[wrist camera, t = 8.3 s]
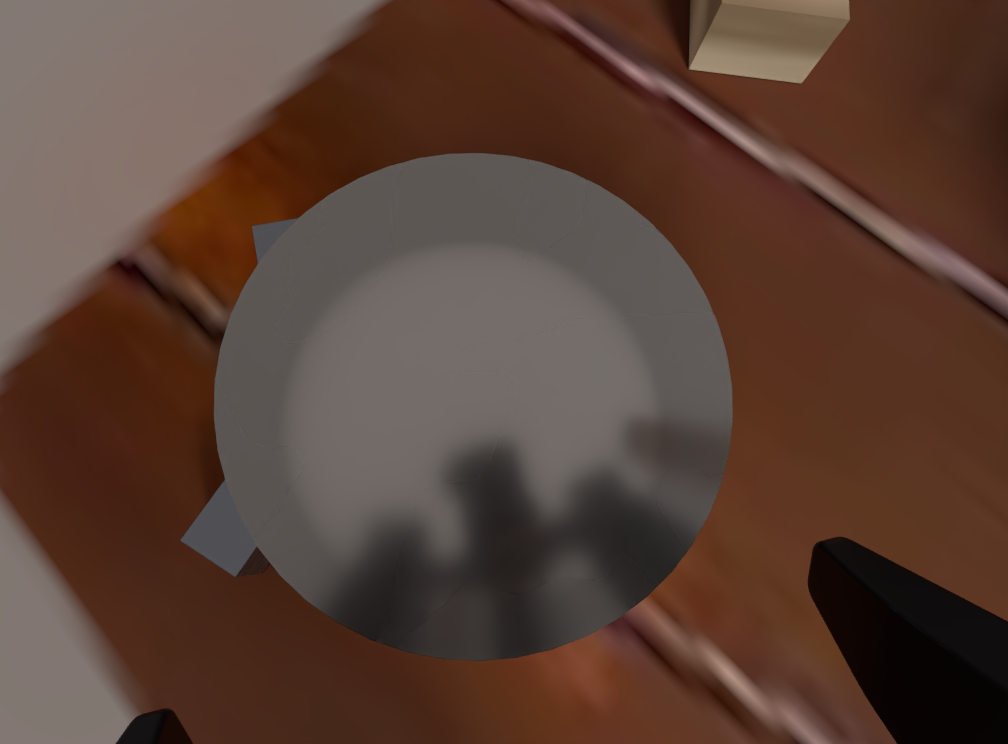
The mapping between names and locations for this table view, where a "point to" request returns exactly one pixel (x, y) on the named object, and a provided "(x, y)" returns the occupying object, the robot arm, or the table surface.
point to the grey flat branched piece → (219, 521)
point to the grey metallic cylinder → (473, 406)
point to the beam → (763, 36)
